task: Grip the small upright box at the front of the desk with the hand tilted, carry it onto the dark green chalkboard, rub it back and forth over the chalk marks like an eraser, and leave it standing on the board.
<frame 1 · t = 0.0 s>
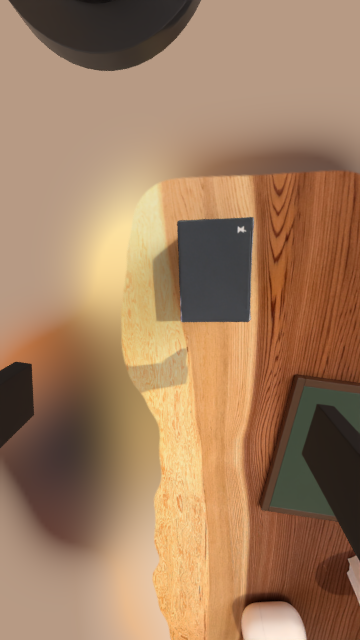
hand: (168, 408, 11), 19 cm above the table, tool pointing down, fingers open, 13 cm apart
earbud case: (269, 614, 43), on the table
chalkboard: (340, 453, 34), on the table
box: (208, 266, 28), on the table
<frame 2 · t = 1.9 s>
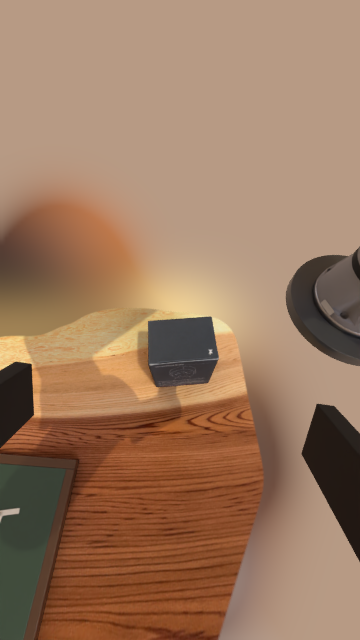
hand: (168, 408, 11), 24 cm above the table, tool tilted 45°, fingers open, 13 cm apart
box: (180, 367, 37), on the table
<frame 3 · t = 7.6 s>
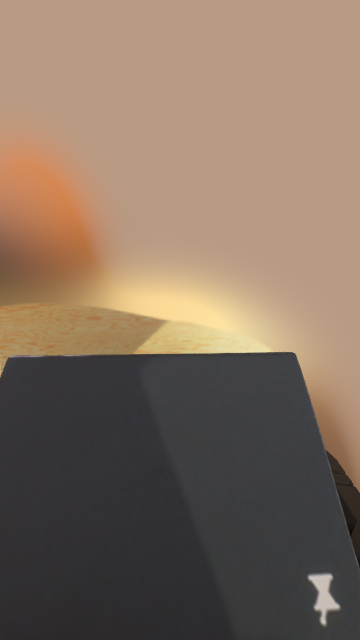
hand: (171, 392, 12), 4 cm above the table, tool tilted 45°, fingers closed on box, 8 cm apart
box: (163, 464, 14), on the table, touching gripper
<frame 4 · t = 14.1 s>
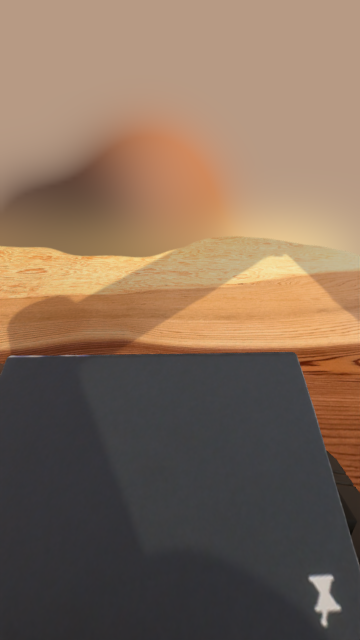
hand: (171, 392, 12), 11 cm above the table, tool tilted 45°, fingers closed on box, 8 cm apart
box: (163, 464, 14), point 7 cm above the table, touching gripper
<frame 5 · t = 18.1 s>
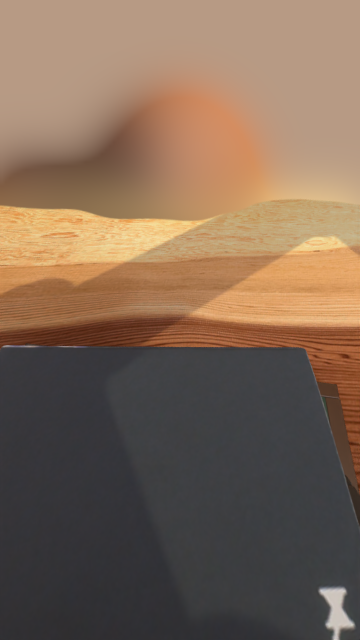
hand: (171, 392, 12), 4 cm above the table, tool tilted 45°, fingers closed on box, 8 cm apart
chalkboard: (157, 524, 13), on the table
box: (163, 464, 14), point 1 cm above the table, touching gripper
when the fingers open (4 cm above the table, at t = 21.0 s): box stays where it is, resting on chalkboard.
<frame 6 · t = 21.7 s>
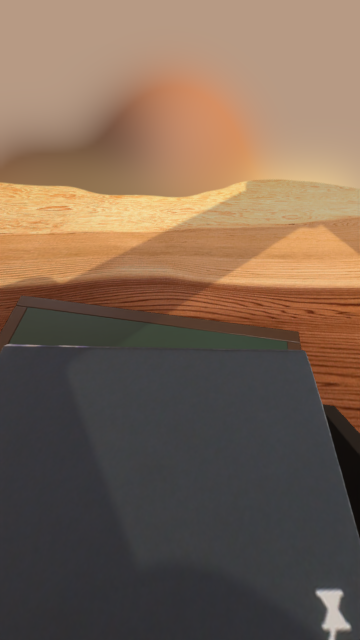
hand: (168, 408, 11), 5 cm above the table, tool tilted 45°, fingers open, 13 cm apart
chalkboard: (133, 441, 15), on the table
box: (162, 464, 14), point 1 cm above the table, touching chalkboard
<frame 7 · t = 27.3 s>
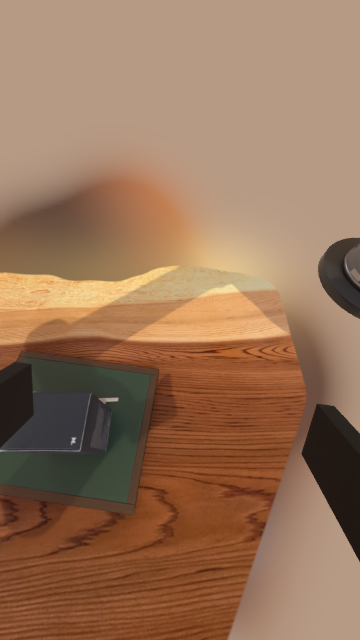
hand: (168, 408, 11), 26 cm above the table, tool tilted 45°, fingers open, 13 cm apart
chalkboard: (71, 421, 34), on the table
box: (81, 430, 33), point 1 cm above the table, touching chalkboard
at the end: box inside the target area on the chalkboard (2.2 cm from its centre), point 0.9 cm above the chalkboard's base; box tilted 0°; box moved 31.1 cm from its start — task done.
